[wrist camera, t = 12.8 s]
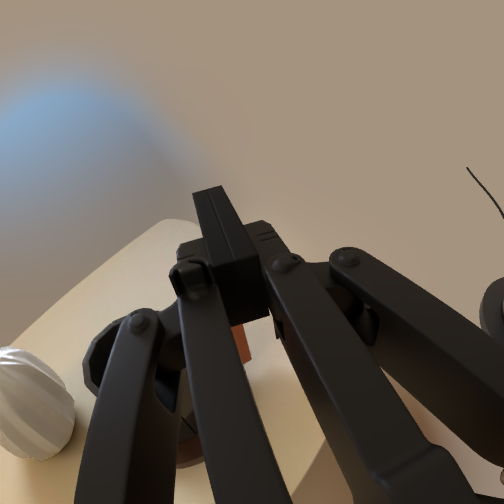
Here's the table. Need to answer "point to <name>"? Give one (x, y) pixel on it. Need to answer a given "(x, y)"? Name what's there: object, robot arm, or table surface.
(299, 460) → the table surface
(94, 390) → the mug
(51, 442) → the vase
